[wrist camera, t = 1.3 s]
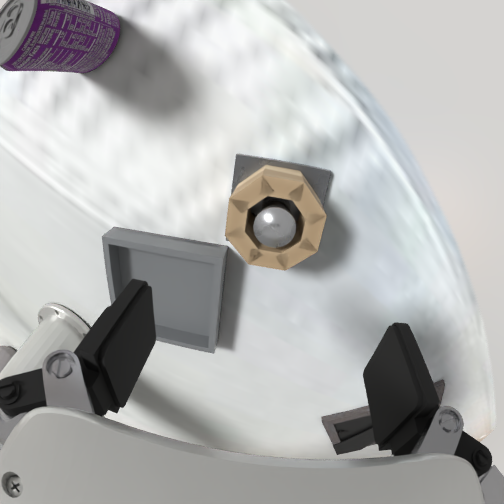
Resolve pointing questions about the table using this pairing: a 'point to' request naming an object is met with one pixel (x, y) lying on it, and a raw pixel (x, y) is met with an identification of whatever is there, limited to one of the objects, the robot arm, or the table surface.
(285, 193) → the maple ring
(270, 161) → the grey knobbed square plate
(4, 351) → the coffee pot
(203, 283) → the charcoal tray
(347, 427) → the picture frame
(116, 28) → the beverage can
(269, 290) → the table surface
